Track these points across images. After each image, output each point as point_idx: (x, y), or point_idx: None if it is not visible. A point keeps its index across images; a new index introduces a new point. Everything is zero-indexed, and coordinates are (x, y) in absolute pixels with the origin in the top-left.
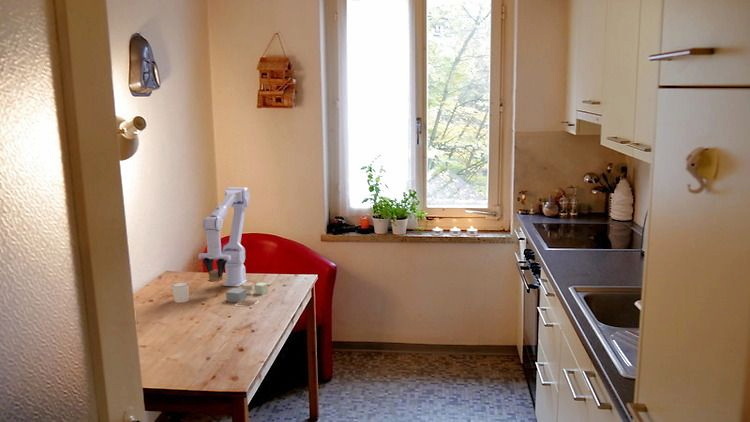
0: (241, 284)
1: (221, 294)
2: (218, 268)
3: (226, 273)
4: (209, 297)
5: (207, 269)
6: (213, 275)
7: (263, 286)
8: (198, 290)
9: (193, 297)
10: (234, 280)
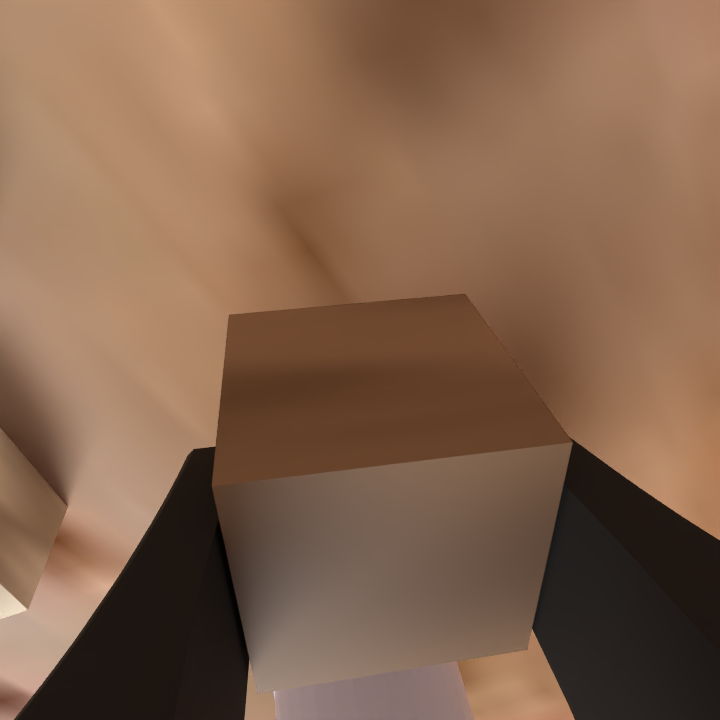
0: None
1: (264, 304)
2: (140, 683)
3: (440, 708)
4: (356, 111)
5: (681, 529)
6: (360, 393)
7: None
8: (657, 339)
9: (623, 22)
10: None
